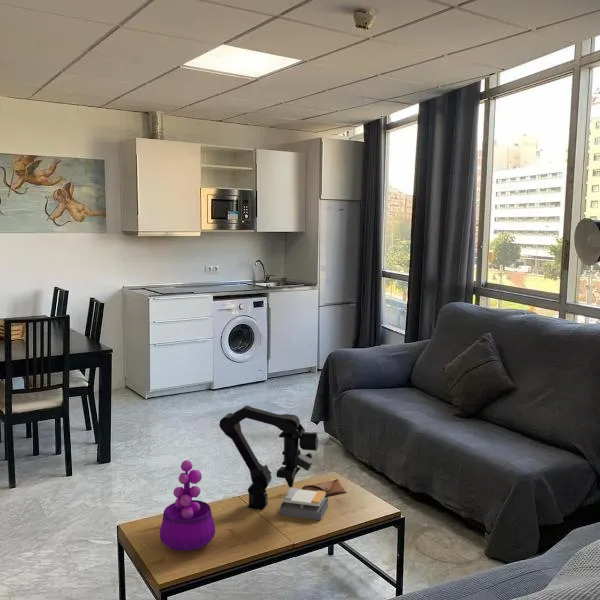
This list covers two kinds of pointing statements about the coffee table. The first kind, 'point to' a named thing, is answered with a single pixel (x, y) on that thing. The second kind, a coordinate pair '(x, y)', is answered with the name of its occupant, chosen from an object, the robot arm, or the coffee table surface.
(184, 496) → the decorative plant
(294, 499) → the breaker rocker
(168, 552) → the coffee table surface
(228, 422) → the robot arm
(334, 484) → the sunglasses case
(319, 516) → the box
